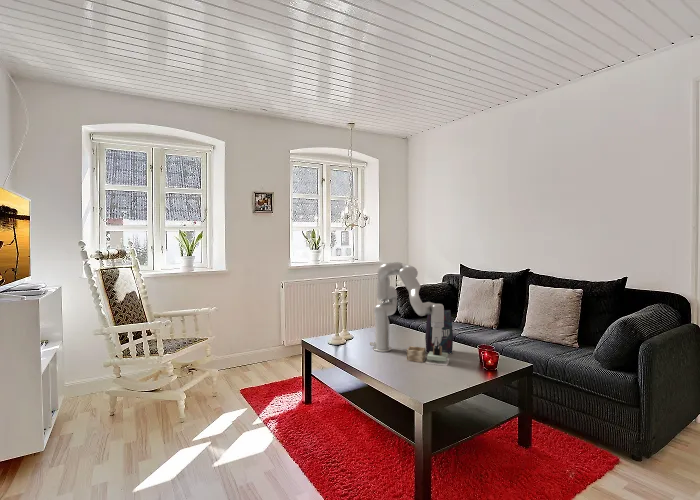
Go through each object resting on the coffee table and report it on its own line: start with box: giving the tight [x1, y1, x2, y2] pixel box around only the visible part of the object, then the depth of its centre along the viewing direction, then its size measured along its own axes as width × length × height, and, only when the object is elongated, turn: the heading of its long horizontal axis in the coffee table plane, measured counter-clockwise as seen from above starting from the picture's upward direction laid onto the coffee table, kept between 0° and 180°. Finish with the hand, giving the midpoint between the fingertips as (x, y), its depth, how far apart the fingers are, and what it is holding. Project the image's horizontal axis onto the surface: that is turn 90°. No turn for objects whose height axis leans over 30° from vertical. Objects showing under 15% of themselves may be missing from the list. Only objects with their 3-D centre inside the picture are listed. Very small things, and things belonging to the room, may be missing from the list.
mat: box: [424, 358, 450, 367], centre depth 241 cm, size 13×13×1 cm
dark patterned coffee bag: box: [424, 309, 454, 355], centre depth 259 cm, size 8×16×28 cm, turn 98°
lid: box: [426, 345, 449, 361], centre depth 241 cm, size 11×10×7 cm
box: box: [406, 345, 426, 363], centre depth 245 cm, size 10×9×6 cm
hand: (437, 353), depth 241 cm, fingers closed on lid, 3 cm apart
